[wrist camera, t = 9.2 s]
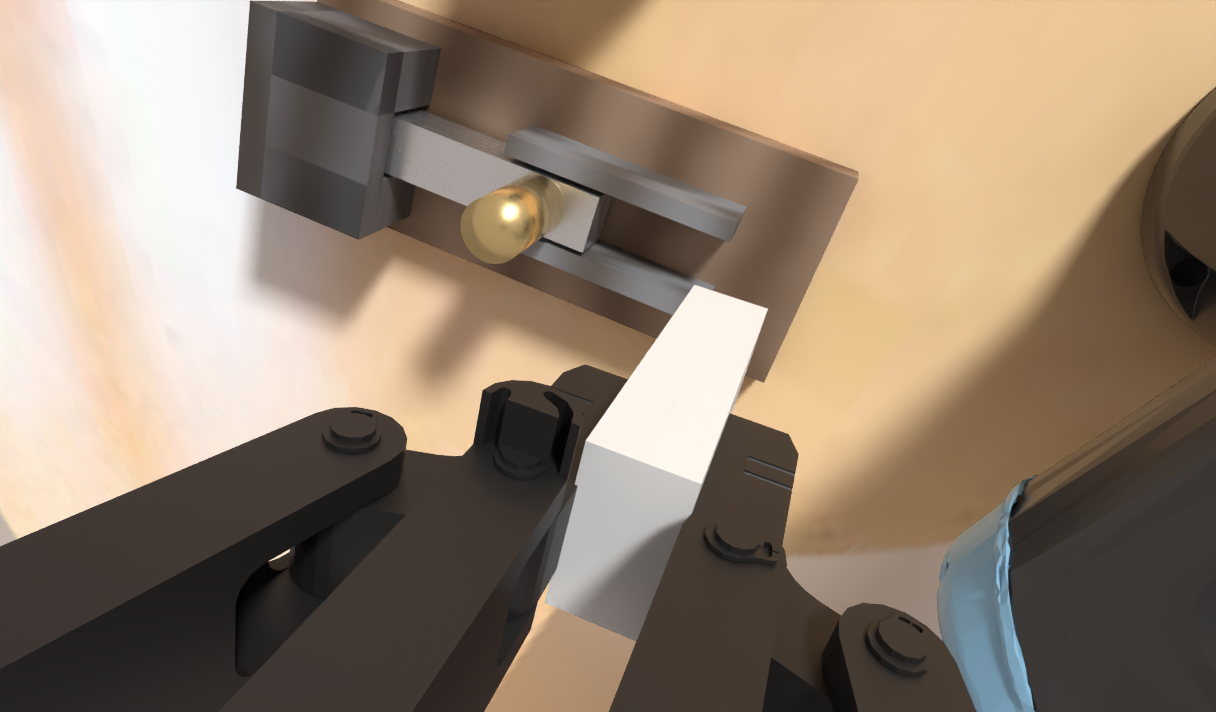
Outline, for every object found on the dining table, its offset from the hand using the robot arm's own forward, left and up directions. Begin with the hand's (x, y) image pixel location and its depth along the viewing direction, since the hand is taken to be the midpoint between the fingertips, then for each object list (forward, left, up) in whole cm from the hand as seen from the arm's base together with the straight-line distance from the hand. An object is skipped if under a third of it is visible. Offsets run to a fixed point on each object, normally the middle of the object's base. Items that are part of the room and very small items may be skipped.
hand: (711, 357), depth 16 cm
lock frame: (+11, +6, -28) cm, 30 cm away
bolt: (+16, +6, -25) cm, 30 cm away
